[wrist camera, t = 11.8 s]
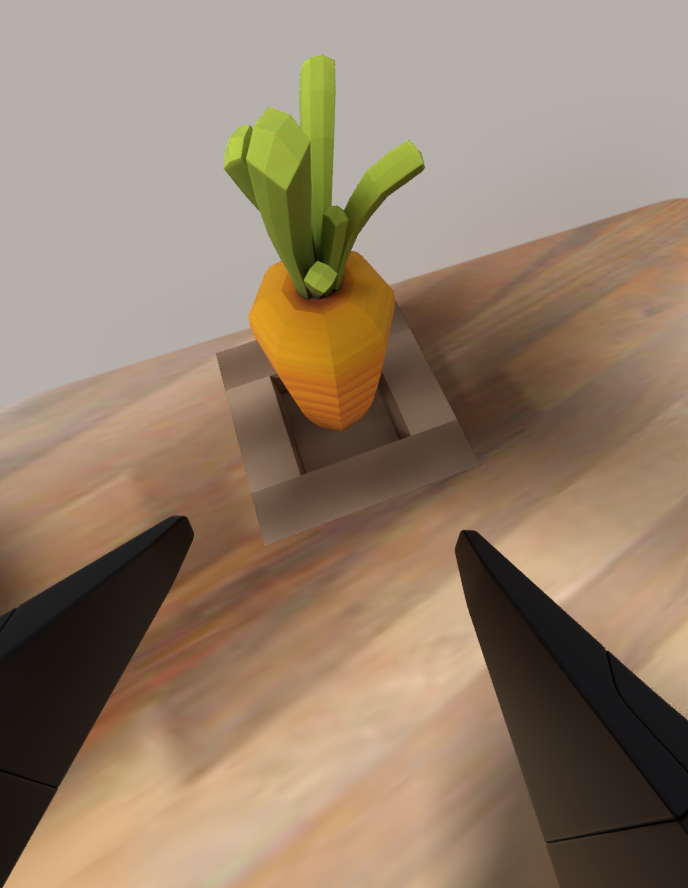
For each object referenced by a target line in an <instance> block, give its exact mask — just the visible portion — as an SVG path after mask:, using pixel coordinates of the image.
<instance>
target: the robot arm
mask: <svg viewBox="0 0 688 888" xmlns="http://www.w3.org/2000/svg"><path fill="white" fill-rule="evenodd" d="M193 538H194V532H193V529H192V527H191V525H190V522H189V520H188V518H187V517H186V516H179V515H174V516H171V517H169V518H167V519H165V520H164V521H162V522H160V523H159V524H157V525H155V526H154V527H152V528H150V529H148V530H147V531H145V532H143V533H142V534H140V535H138V536H137V537H135V538H133V539H131V540H130V541H128V542H126V543H125V544H123V545H121V546H120V547H118V548H116V549H114V550H113V551H111V552H109V553H108V554H106V555H104V556H103V557H101V558H99V559H97V560H96V561H94V562H92V563H91V564H89V565H87V566H86V567H84V568H82V569H80V570H79V571H77V572H75V573H74V574H72V575H70V576H69V577H67V578H65V579H63V580H62V581H60V582H58V583H57V584H55V585H53V586H52V587H50V588H48V589H46V590H45V591H43V592H41V593H40V594H38V595H36V596H35V597H33V598H31V599H29V600H28V601H26V602H24V603H23V604H21V605H20V606H19V607H18V608H14V609H12V610H11V611H9V612H7V613H6V614H4V615H2V616H0V888H3V886H4V884H5V882H6V881H7V879H8V877H9V875H10V874H11V872H12V870H13V868H14V866H15V865H16V863H17V861H18V859H19V858H20V856H21V854H22V852H23V850H24V849H25V847H26V845H27V843H28V842H29V840H30V838H31V836H32V834H33V833H34V831H35V829H36V827H37V826H38V824H39V822H40V820H41V818H42V817H43V815H44V813H45V811H46V810H47V808H48V806H49V804H50V803H51V801H52V799H53V797H54V795H55V794H56V792H57V790H58V787H59V786H60V784H61V783H62V781H63V779H64V777H65V775H66V774H67V772H68V770H69V768H70V767H71V765H72V763H73V761H74V759H75V758H76V756H77V754H78V752H79V751H80V749H81V747H82V745H83V743H84V742H85V740H86V738H87V736H88V735H89V733H90V731H91V729H92V727H93V726H94V724H95V722H96V720H97V719H98V717H99V715H100V713H101V711H102V710H103V708H104V706H105V704H106V703H107V701H108V699H109V697H110V695H111V694H112V692H113V690H114V688H115V687H116V685H117V683H118V681H119V679H120V678H121V676H122V674H123V672H124V671H125V669H126V667H127V665H128V663H129V662H130V660H131V658H132V656H133V655H134V653H135V651H136V649H137V647H138V646H139V644H140V642H141V640H142V639H143V637H144V635H145V633H146V631H147V630H148V628H149V626H150V624H151V623H152V621H153V619H154V617H155V616H156V614H157V612H158V610H159V608H160V607H161V605H162V603H163V601H164V600H165V598H166V596H167V594H168V592H169V590H170V589H171V587H172V585H173V583H174V581H175V579H176V576H177V574H178V572H179V570H180V568H181V565H182V563H183V561H184V559H185V556H186V554H187V552H188V550H189V548H190V545H191V543H192V541H193ZM455 554H456V559H457V564H458V568H459V572H460V577H461V581H462V586H463V590H464V595H465V599H466V603H467V607H468V610H469V613H470V616H471V619H472V622H473V625H474V628H475V631H476V634H477V637H478V641H479V644H480V647H481V650H482V653H483V656H484V659H485V662H486V665H487V668H488V671H489V674H490V677H491V680H492V683H493V686H494V689H495V692H496V695H497V698H498V701H499V704H500V707H501V710H502V713H503V716H504V719H505V722H506V725H507V728H508V731H509V734H510V737H511V740H512V743H513V746H514V749H515V752H516V755H517V758H518V761H519V764H520V767H521V770H522V773H523V776H524V779H525V782H526V785H527V788H528V791H529V795H530V798H531V801H532V804H533V807H534V810H535V813H536V816H537V819H538V822H539V825H540V828H541V831H542V834H543V837H544V839H545V841H546V847H547V850H548V853H549V856H550V859H551V862H552V865H553V868H554V871H555V874H556V877H557V880H558V883H559V886H560V888H688V720H687V719H686V718H685V717H683V716H682V715H681V714H680V713H679V712H678V711H676V710H675V709H674V708H673V707H672V706H670V705H669V704H668V703H667V702H666V701H664V700H663V699H662V698H661V697H660V696H659V695H658V694H656V693H655V692H654V691H653V690H652V689H651V688H650V687H649V686H647V685H646V684H645V683H644V682H643V681H642V680H641V679H639V678H638V677H637V676H636V675H635V674H634V673H633V672H632V671H630V670H629V669H628V668H627V667H626V666H625V665H624V664H623V663H622V662H620V661H619V660H618V659H617V658H616V657H615V656H614V655H613V654H612V653H611V652H609V651H606V650H605V647H604V646H603V645H602V644H600V643H599V642H598V641H597V640H596V639H595V638H594V637H593V636H592V635H590V634H589V633H588V632H587V631H586V630H585V629H584V628H583V627H582V626H581V625H579V624H578V623H577V622H576V621H575V620H574V619H573V618H572V617H571V616H569V615H568V614H567V613H566V612H565V611H564V610H563V609H562V608H561V607H560V606H558V605H557V604H556V603H555V602H554V601H553V600H552V599H551V598H550V597H549V596H547V595H546V594H545V593H544V592H543V591H542V590H541V589H540V588H539V587H537V586H536V585H535V584H534V583H533V582H532V581H531V580H530V579H529V578H528V577H526V576H525V575H524V574H523V573H522V572H521V571H520V570H519V569H518V568H516V567H515V566H514V565H513V564H512V563H511V562H510V561H509V560H508V559H507V558H505V557H504V556H503V555H502V554H501V553H500V552H499V551H498V550H497V549H496V548H494V547H493V546H492V545H491V544H490V543H489V542H488V541H487V540H486V539H484V538H483V537H482V536H481V535H480V534H479V533H478V532H476V531H474V530H462V531H461V532H460V535H459V538H458V541H457V543H456V547H455Z"/></svg>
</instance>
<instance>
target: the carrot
mask: <svg viewBox="0 0 688 888" xmlns="http://www.w3.org/2000/svg"><path fill="white" fill-rule="evenodd" d="M335 94H336V90H335V60H333V59H331V58H329V57H327V56H324V55H320V56H315V57H311V58H309V59H308V60H306V61H305V62H304V63H303V66H302V69H301V72H300V91H299V107H300V126H299V125H298V124H297V122H296V121H295V120H294V119H293V117H292V116H291V115H290V114H287V113H284V112H282V111H279V110H276V109H274V108H271V107H268V109H267V110H266V111H265V112H264V114H263V115H262V116H261V117H260V119H259V120H258V121H257V123H256V124H255V125H254V128H253V129H252V127H251V126H250V125H246V126H240V127H238V128H237V130H236V131H235V132H234V133H233V134H232V135H231V137H230V138H229V141H228V144H227V147H226V150H225V160H224V170H225V171H226V172H227V173H228V174H229V176H230V177H231V178H232V180H233V181H234V182H235V183H236V185H237V186H238V187H239V188H240V190H241V191H242V192H243V193H244V194H245V196H246V197H247V198H248V199H249V200H250V201H251V202H252V204H254V206H255V207H256V208H257V209H258V210H259V211H260V212H261V216H262V219H263V221H264V224H265V227H266V230H267V233H268V235H269V237H270V239H271V241H272V243H273V245H274V247H275V249H276V251H277V253H278V255H279V257H280V259H281V260H282V261H280V262H278V263H276V264H274V265H272V266H270V267H269V269H268V270H267V271H266V273H265V275H264V278H263V280H262V283H261V285H260V288H259V290H258V293H257V296H256V298H255V301H254V303H253V306H252V309H251V311H250V314H249V322H250V327H251V329H252V332H253V334H254V336H255V338H256V339H257V341H258V343H259V344H260V346H261V348H262V349H263V351H264V353H265V354H266V356H267V358H268V359H269V361H270V363H271V364H272V366H273V368H274V369H275V371H276V372H277V374H278V375H279V377H280V378H281V380H282V382H283V383H284V385H285V386H286V388H287V389H288V391H289V392H290V394H291V396H292V397H293V399H294V400H295V402H296V403H297V405H298V406H299V408H300V409H301V411H302V412H303V414H304V415H305V416H306V417H307V418H308V419H309V420H311V421H312V422H313V423H314V424H316V425H317V426H319V427H322V428H327V429H332V430H337V431H343V430H345V429H346V428H348V427H350V426H351V425H353V424H355V423H356V422H358V421H359V420H361V419H362V418H363V416H364V415H365V414H366V413H367V411H368V409H369V408H370V406H371V404H372V403H373V400H374V396H375V393H376V390H377V386H378V383H379V379H380V375H381V370H382V366H383V362H384V358H385V354H386V349H387V344H388V339H389V334H390V329H391V324H392V319H393V314H394V308H395V297H394V291H393V290H392V288H391V287H390V286H389V285H388V284H387V283H386V282H385V281H384V280H383V279H382V277H381V276H380V275H379V274H378V273H377V272H376V271H375V270H374V269H373V267H372V266H371V265H370V264H369V263H368V262H367V261H366V260H365V259H364V258H363V256H361V255H360V254H359V253H357V252H354V251H351V249H352V247H353V244H354V242H355V240H356V238H357V235H358V234H359V232H360V231H361V229H362V228H363V227H364V225H365V224H366V223H367V221H368V220H369V218H370V217H371V215H372V214H373V213H374V212H375V211H376V209H378V207H379V206H380V205H381V204H382V202H383V201H384V200H385V199H386V198H387V197H388V196H389V195H390V194H391V193H393V192H394V191H396V190H397V189H399V188H400V187H401V186H403V185H404V184H406V183H407V182H409V181H410V180H411V179H413V178H414V177H415V176H417V175H418V174H419V173H421V172H422V171H423V170H424V168H425V166H424V162H423V158H422V154H421V152H420V151H419V150H418V149H417V148H416V147H415V146H414V144H413V143H412V142H411V141H410V140H408V141H407V142H405V143H403V144H402V145H400V146H398V147H397V148H395V149H394V150H392V151H390V152H389V153H388V154H386V155H385V156H384V157H383V158H381V159H380V160H379V161H378V162H377V163H376V164H374V165H373V166H372V167H371V168H370V169H368V170H367V171H366V173H365V174H364V176H363V177H362V179H361V181H360V183H359V184H358V186H357V187H356V189H355V191H354V192H353V194H352V196H351V197H350V199H349V201H348V203H347V205H346V208H345V210H343V209H341V208H340V207H339V206H331V202H332V201H331V200H332V175H333V149H334V122H335Z"/></svg>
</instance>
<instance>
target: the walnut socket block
mask: <svg viewBox="0 0 688 888" xmlns="http://www.w3.org/2000/svg"><path fill="white" fill-rule="evenodd" d="M216 355H217V359H218V363H219V367H220V371H221V375H222V379H223V383H224V387H225V391H226V395H227V399H228V403H229V407H230V411H231V415H232V419H233V423H234V427H235V431H236V435H237V439H238V443H239V447H240V451H241V455H242V459H243V463H244V466H245V470H246V474H247V478H248V482H249V486H250V490H251V494H252V498H253V502H254V506H255V510H256V514H257V518H258V522H259V526H260V530H261V534H262V538H263V542H264V546H266V545H268V544H271V543H274V542H276V541H279V540H282V539H284V538H287V537H290V536H293V535H295V534H298V533H301V532H303V531H306V530H309V529H311V528H314V527H317V526H319V525H322V524H325V523H327V522H330V521H333V520H335V519H338V518H341V517H343V516H346V515H349V514H351V513H354V512H357V511H359V510H362V509H365V508H367V507H370V506H373V505H375V504H378V503H381V502H383V501H386V500H389V499H391V498H394V497H397V496H399V495H402V494H405V493H407V492H410V491H413V490H415V489H418V488H421V487H423V486H426V485H429V484H432V483H434V482H437V481H440V480H442V479H445V478H448V477H450V476H453V475H456V474H458V473H461V472H464V471H466V470H469V469H472V468H474V467H477V466H480V465H481V464H480V462H479V461H478V459H477V457H476V455H475V453H474V451H473V449H472V447H471V445H470V443H469V441H468V439H467V437H466V435H465V434H464V432H463V430H462V428H461V426H460V424H459V422H458V420H457V418H456V416H455V414H454V412H453V410H452V409H451V407H450V405H449V403H448V401H447V399H446V397H445V395H444V393H443V391H442V389H441V387H440V385H439V383H438V382H437V380H436V378H435V376H434V374H433V372H432V370H431V368H430V366H429V364H428V362H427V360H426V358H425V357H424V355H423V353H422V351H421V349H420V347H419V345H418V343H417V341H416V339H415V337H414V335H413V333H412V331H411V330H410V328H409V326H408V324H407V322H406V320H405V318H404V316H403V314H402V312H401V310H400V308H399V306H398V304H397V303H396V301H395V308H394V314H393V319H392V324H391V329H390V334H389V339H388V344H387V349H386V354H385V358H384V362H383V366H382V370H381V375H380V379H379V383H378V386H377V390H376V393H375V396H374V400H373V403H372V404H371V406H370V408H369V409H368V411H367V413H366V414H365V415H364V416H363V418H362V419H361V420H359V421H358V422H356V423H355V424H353V425H351V426H350V427H348V428H346V429H345V430H343V431H337V430H332V429H327V428H322V427H319V426H317V425H316V424H314V423H313V422H312V421H311V420H309V419H308V418H307V417H306V416H305V415H304V414H303V412H302V411H301V409H300V408H299V406H298V405H297V403H296V402H295V400H294V399H293V397H292V396H291V394H290V392H289V391H288V389H287V388H286V386H285V385H284V383H283V382H282V380H281V378H280V377H279V375H278V374H277V372H276V371H275V369H274V368H273V366H272V364H271V363H270V361H269V359H268V358H267V356H266V354H265V353H264V351H263V349H262V348H261V346H260V344H259V343H258V341H257V340H256V341H252V342H249V343H246V344H243V345H240V346H237V347H234V348H231V349H228V350H225V351H222V352H219V353H216Z"/></svg>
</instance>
